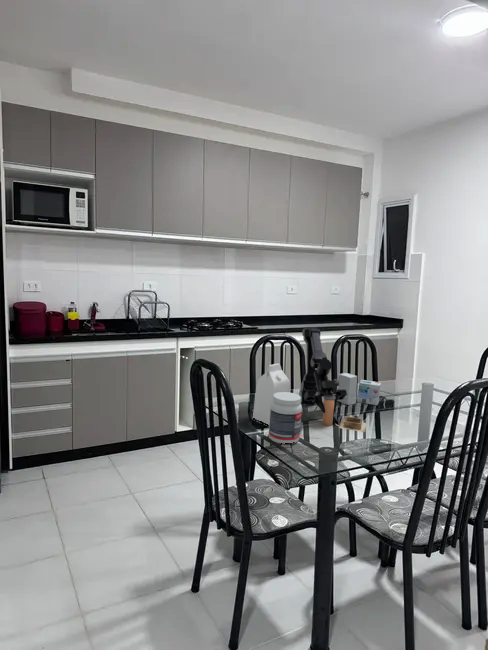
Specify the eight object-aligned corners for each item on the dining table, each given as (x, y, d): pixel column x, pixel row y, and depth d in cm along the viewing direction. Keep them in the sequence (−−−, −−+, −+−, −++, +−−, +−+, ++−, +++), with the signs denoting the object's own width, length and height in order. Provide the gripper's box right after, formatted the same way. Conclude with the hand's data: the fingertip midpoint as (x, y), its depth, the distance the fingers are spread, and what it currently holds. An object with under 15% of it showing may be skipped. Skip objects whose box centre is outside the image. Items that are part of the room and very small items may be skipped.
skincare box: (355, 403, 237) (358, 376, 235) (347, 405, 234) (350, 377, 231) (344, 399, 244) (346, 372, 242) (335, 400, 241) (338, 373, 238)
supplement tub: (302, 446, 182) (306, 401, 179) (270, 445, 181) (273, 400, 178) (296, 433, 195) (299, 391, 192) (266, 432, 194) (269, 390, 191)
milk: (270, 413, 216) (274, 360, 212) (289, 421, 208) (293, 365, 204) (252, 419, 208) (255, 363, 203) (271, 427, 200) (275, 369, 195)
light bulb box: (356, 402, 240) (358, 382, 239) (358, 398, 247) (360, 379, 245) (377, 405, 236) (379, 385, 235) (379, 401, 243) (381, 382, 241)
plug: (319, 425, 203) (322, 396, 200) (323, 422, 207) (326, 393, 205) (330, 428, 200) (333, 398, 198) (334, 424, 204) (337, 395, 202)
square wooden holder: (338, 431, 200) (339, 422, 199) (341, 422, 210) (342, 414, 209) (364, 435, 196) (365, 426, 196) (365, 426, 207) (366, 417, 206)
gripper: (308, 372, 201) (315, 405, 192) (347, 372, 205) (356, 404, 197) (300, 384, 210) (307, 415, 201) (338, 383, 214) (346, 414, 206)
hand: (329, 412), depth 201 cm, fingers open, 5 cm apart
